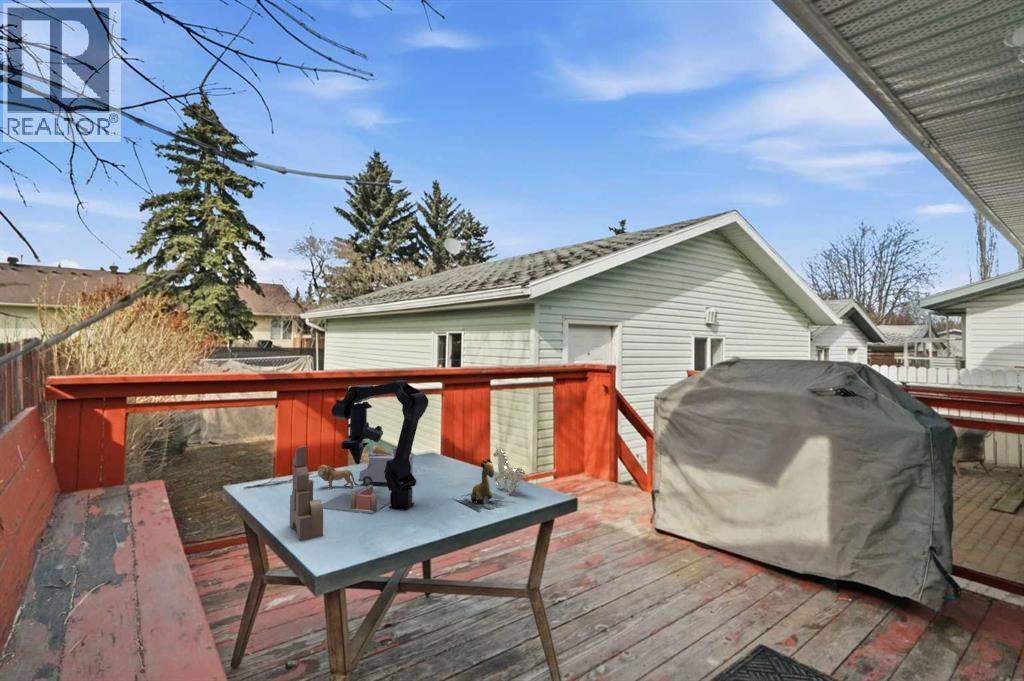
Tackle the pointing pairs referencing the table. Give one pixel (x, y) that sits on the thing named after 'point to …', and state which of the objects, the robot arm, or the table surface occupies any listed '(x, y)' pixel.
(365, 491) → the gate panel
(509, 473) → the unicorn
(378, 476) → the toy vehicle
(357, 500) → the fixed fence
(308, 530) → the wooden toy
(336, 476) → the lion figurine
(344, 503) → the board
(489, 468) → the stuffed giraffe
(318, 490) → the table surface
